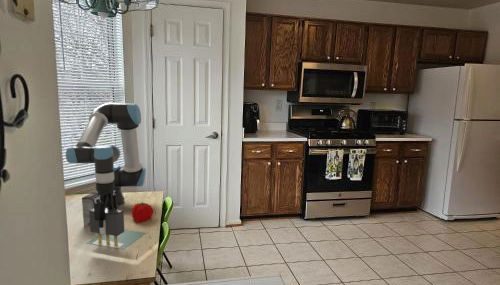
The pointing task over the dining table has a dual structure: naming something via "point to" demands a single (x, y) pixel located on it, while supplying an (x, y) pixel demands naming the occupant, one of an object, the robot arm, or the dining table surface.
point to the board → (117, 239)
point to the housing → (109, 222)
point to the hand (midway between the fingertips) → (107, 231)
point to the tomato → (142, 212)
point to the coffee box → (88, 207)
